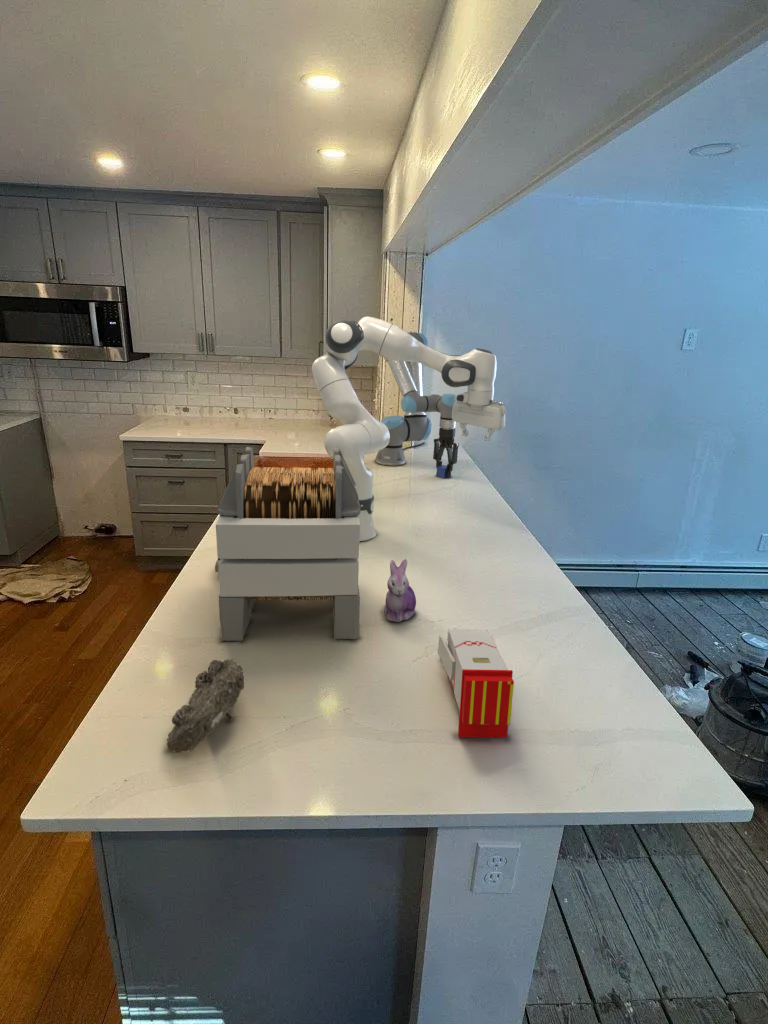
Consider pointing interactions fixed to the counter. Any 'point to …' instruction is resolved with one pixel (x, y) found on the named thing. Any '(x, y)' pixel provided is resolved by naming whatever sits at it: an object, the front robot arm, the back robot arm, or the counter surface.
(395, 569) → the figurine
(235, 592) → the transformer
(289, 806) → the counter surface
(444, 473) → the block
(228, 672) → the fossil
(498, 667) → the toy
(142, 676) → the counter surface
